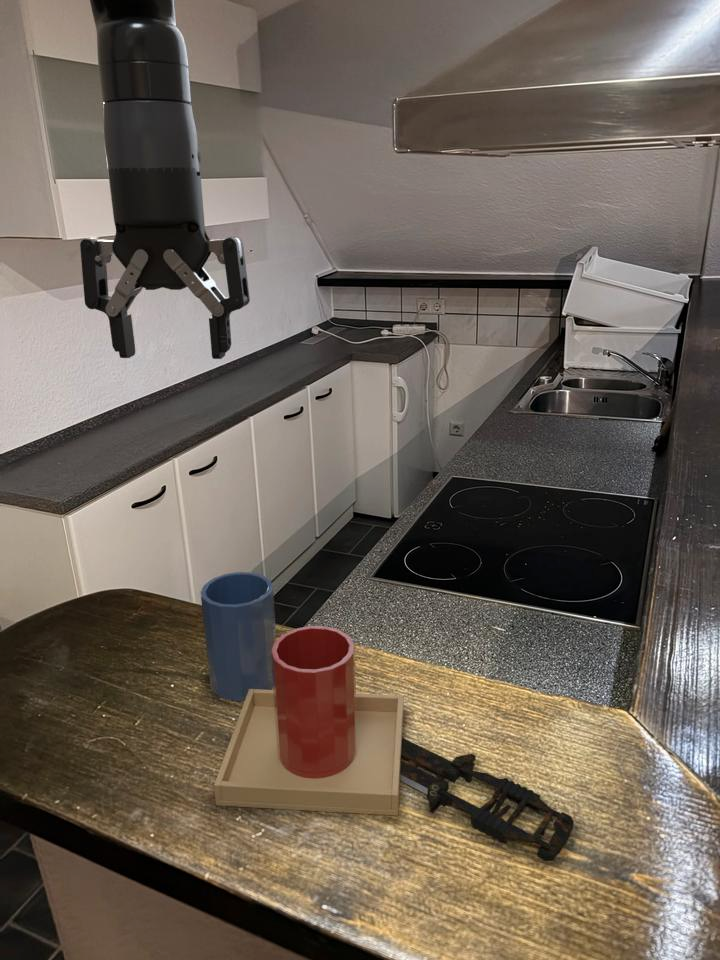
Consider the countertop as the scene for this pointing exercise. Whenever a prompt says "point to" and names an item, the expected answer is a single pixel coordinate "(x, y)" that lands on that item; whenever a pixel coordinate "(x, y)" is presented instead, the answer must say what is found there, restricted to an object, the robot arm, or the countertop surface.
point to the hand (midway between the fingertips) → (173, 357)
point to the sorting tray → (357, 789)
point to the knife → (483, 816)
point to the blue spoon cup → (239, 633)
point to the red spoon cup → (315, 700)
